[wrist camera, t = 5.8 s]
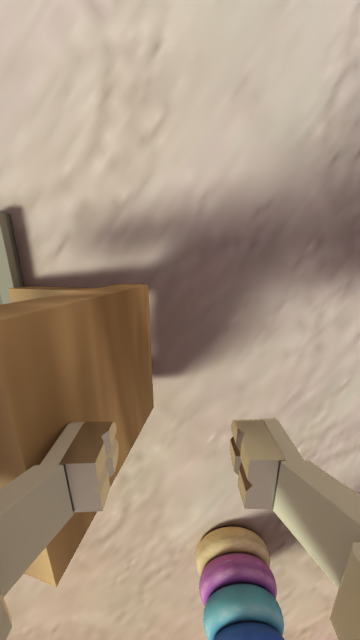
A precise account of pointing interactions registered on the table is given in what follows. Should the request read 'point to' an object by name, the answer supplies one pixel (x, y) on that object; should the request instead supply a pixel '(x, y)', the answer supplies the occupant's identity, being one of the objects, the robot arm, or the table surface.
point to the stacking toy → (237, 587)
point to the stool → (71, 383)
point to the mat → (8, 260)
